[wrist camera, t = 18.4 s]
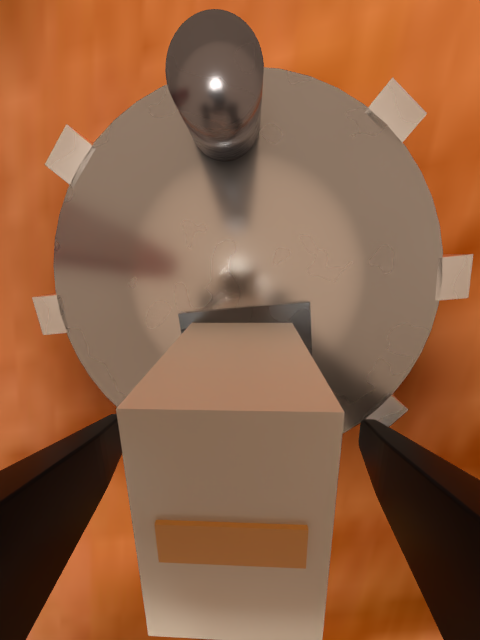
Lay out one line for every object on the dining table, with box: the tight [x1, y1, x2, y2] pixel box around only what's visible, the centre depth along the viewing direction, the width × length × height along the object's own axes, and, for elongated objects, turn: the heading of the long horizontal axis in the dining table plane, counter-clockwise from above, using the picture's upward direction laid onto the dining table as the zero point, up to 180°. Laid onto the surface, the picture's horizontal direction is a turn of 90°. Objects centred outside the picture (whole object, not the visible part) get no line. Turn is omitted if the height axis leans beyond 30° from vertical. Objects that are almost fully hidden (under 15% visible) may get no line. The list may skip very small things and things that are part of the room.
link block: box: [116, 323, 345, 640], centre depth 8 cm, size 4×6×6 cm, turn 1°
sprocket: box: [32, 9, 473, 434], centre depth 10 cm, size 17×17×4 cm
